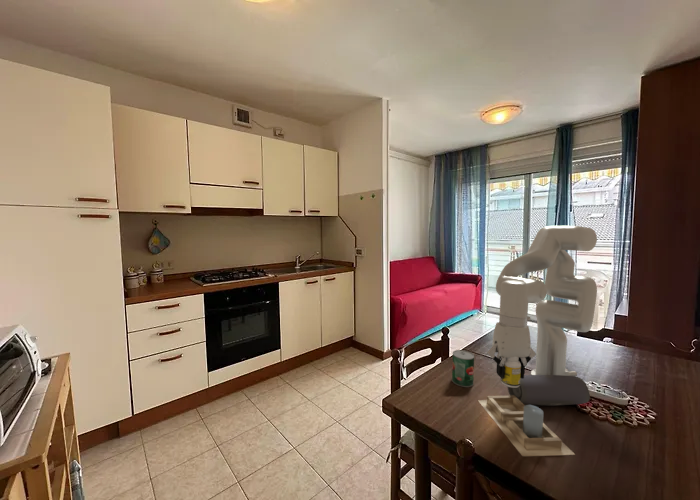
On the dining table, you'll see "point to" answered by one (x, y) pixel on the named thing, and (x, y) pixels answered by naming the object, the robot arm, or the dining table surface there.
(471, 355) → the canned tomato
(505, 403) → the cruet stand
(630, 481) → the dining table surface
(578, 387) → the bluetooth speaker
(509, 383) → the supplement bottle
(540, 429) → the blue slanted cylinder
